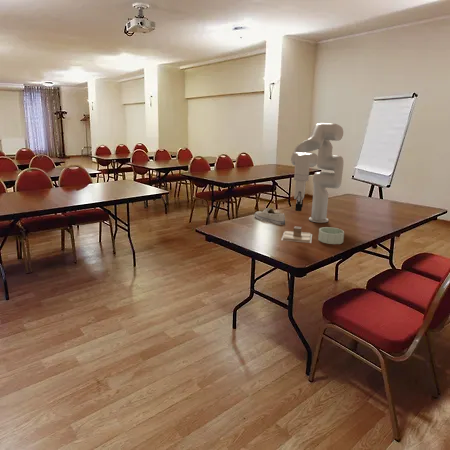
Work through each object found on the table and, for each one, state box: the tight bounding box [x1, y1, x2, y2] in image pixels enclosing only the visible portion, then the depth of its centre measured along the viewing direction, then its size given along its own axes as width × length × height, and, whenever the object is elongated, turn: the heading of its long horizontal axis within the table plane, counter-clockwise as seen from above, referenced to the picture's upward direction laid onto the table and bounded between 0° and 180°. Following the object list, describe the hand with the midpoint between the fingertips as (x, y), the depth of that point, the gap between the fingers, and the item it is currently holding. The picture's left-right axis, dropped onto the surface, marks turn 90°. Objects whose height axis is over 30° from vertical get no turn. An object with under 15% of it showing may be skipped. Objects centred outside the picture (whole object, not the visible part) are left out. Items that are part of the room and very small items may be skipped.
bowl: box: [318, 226, 345, 245], centre depth 200 cm, size 13×13×6 cm
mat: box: [280, 231, 313, 244], centre depth 205 cm, size 16×16×1 cm
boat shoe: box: [254, 207, 286, 226], centre depth 239 cm, size 25×9×9 cm, turn 37°
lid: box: [282, 225, 311, 243], centre depth 204 cm, size 14×14×6 cm
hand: (298, 209), depth 201 cm, fingers open, 9 cm apart
